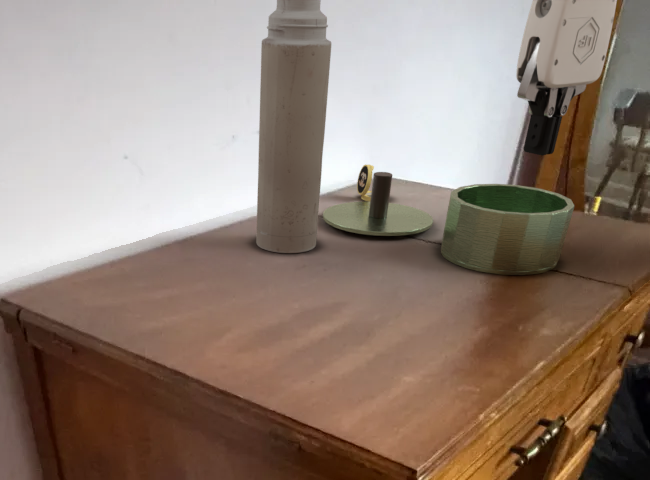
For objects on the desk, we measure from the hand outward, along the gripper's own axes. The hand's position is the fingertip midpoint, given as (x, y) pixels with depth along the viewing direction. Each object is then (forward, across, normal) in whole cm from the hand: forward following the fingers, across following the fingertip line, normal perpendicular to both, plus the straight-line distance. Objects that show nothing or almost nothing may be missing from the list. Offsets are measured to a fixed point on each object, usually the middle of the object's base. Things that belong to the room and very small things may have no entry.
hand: (538, 152), depth 87 cm
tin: (+12, -3, 0) cm, 12 cm away
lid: (+11, -7, +19) cm, 23 cm away
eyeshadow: (+12, +2, +30) cm, 33 cm away
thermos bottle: (+12, -24, +18) cm, 32 cm away
